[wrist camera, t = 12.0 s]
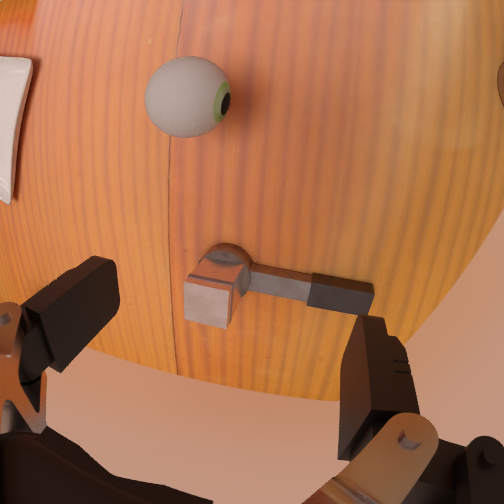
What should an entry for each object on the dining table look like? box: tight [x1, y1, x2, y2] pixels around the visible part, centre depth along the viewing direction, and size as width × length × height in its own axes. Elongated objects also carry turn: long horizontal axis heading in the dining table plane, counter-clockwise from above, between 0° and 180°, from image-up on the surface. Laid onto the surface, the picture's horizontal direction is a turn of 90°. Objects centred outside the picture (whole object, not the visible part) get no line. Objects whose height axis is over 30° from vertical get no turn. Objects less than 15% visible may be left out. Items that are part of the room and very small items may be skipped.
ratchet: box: [198, 243, 375, 315], centre depth 37 cm, size 22×7×7 cm, turn 84°
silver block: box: [184, 257, 244, 329], centre depth 36 cm, size 5×5×6 cm
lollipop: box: [145, 56, 231, 138], centre depth 26 cm, size 7×7×15 cm
